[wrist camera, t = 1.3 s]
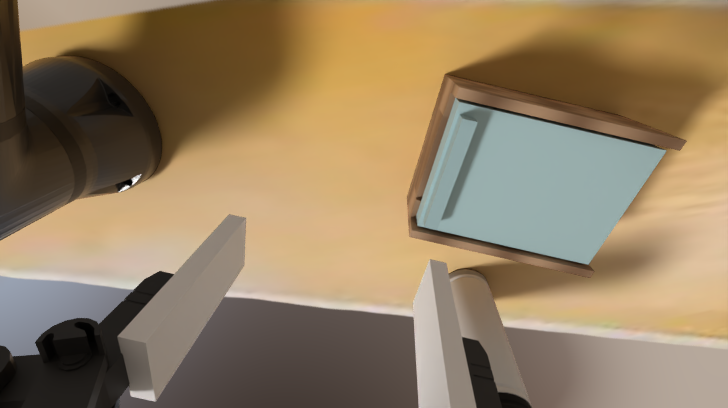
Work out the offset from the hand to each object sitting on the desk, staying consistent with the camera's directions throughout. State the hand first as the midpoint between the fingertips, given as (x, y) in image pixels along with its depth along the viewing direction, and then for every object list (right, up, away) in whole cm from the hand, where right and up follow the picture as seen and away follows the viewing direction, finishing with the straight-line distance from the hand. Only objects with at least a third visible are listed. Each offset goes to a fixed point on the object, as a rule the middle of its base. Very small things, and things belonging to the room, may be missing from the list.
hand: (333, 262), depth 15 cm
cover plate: (+16, +5, +15) cm, 23 cm away
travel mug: (+15, -8, +30) cm, 34 cm away
